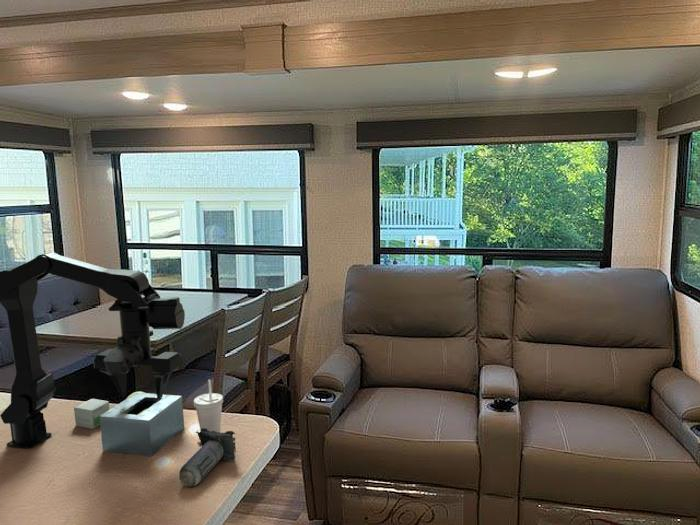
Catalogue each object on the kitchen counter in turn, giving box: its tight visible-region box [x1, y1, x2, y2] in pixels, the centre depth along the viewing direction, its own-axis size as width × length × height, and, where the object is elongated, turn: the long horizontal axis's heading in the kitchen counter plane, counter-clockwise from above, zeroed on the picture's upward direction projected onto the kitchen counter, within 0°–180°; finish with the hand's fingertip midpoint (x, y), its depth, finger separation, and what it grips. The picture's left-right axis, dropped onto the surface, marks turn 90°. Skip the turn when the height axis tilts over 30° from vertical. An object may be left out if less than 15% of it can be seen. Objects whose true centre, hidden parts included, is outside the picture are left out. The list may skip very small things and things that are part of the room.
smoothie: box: [193, 379, 224, 433], centre depth 118 cm, size 6×6×14 cm
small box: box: [73, 398, 110, 430], centre depth 129 cm, size 6×6×5 cm
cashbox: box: [99, 392, 185, 457], centre depth 119 cm, size 12×13×8 cm
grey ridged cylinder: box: [178, 428, 237, 488], centre depth 105 cm, size 9×8×12 cm
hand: (141, 397), depth 118 cm, fingers open, 9 cm apart
